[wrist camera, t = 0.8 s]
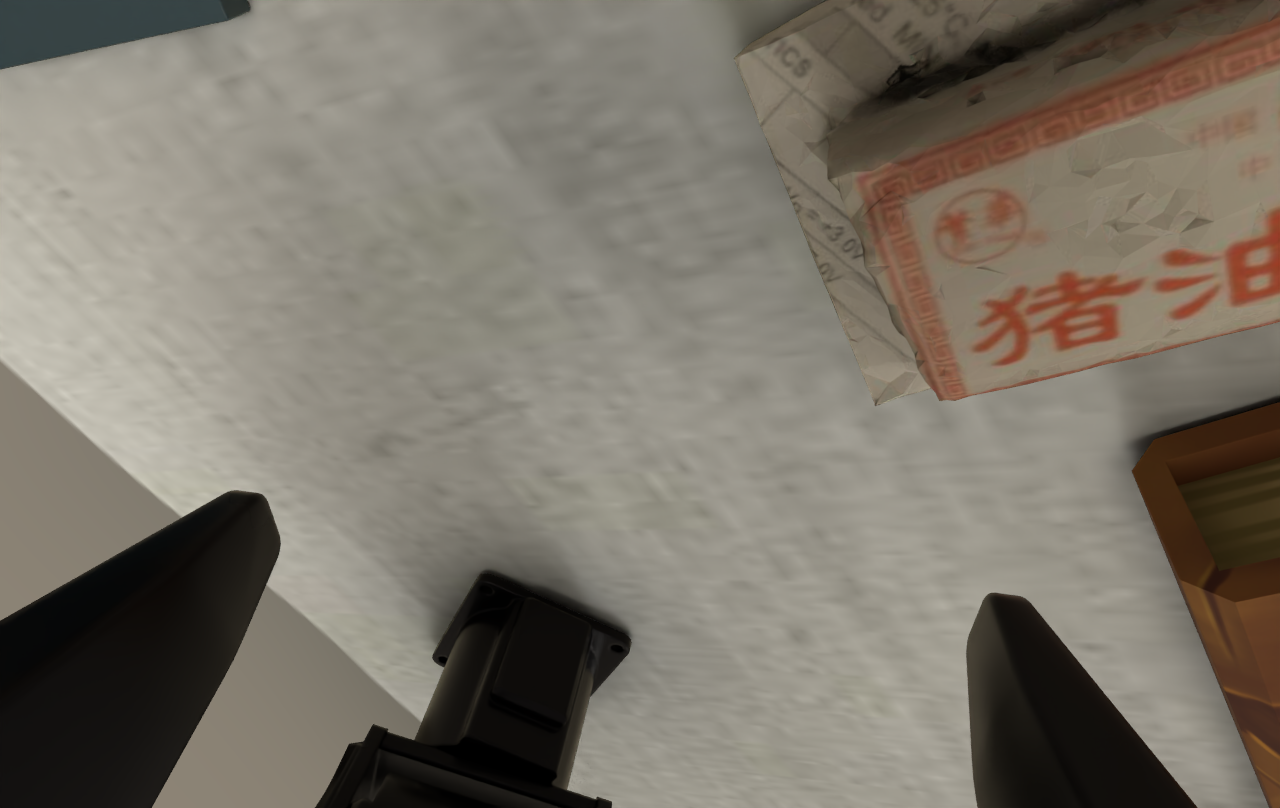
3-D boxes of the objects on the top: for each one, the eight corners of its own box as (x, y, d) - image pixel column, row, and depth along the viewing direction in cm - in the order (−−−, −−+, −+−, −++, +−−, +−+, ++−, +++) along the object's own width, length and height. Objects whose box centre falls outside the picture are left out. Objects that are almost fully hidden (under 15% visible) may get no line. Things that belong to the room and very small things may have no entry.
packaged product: (2547, -690, 7) (2079, 246, 12) (1964, -538, 11) (1784, 133, 16) (710, 107, 14) (878, 502, 19) (732, 36, 18) (868, 381, 23)
